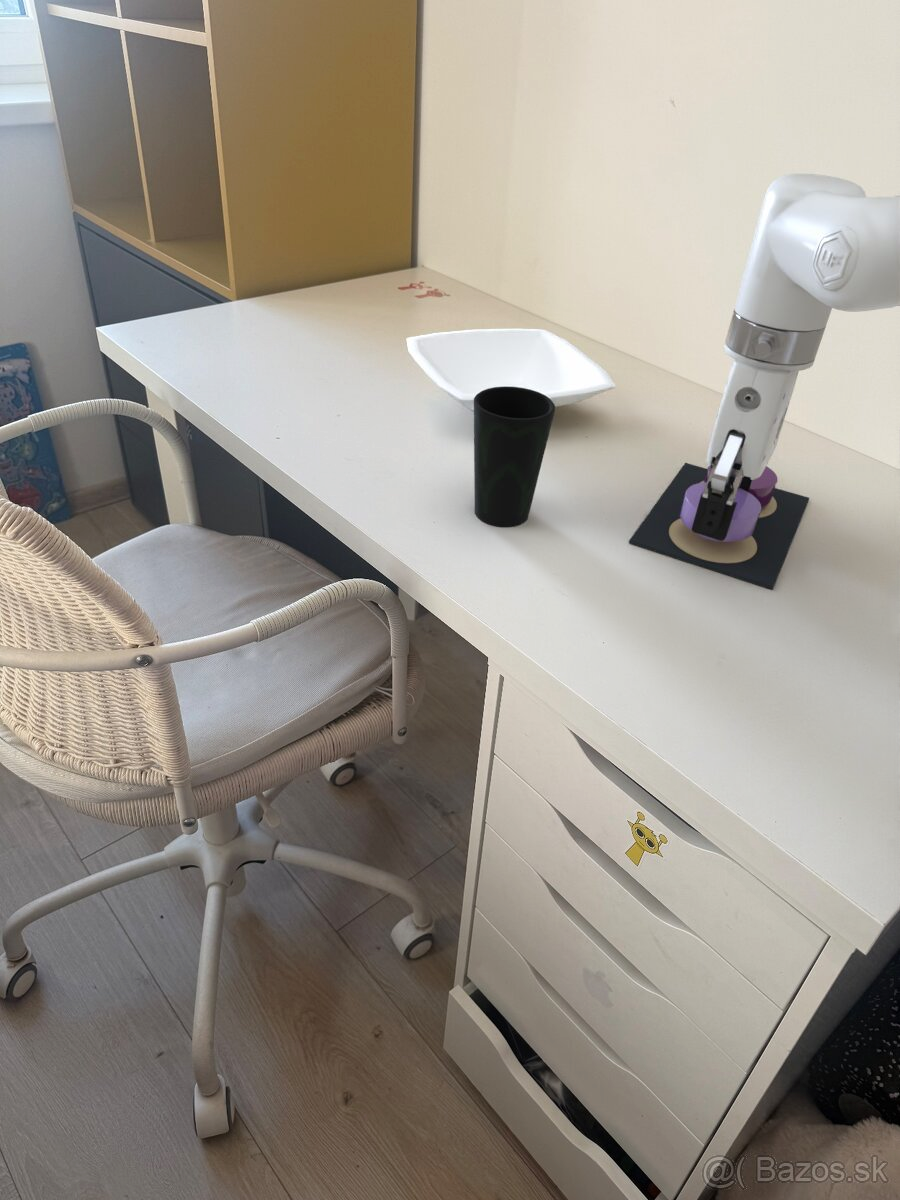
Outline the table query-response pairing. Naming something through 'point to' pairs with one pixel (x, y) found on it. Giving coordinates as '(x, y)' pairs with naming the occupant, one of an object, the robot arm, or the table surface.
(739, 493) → the lavender short cylinder
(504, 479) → the cup
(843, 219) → the robot arm
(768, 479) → the purple short cylinder
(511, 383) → the bowl
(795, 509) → the placemat
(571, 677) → the table surface
